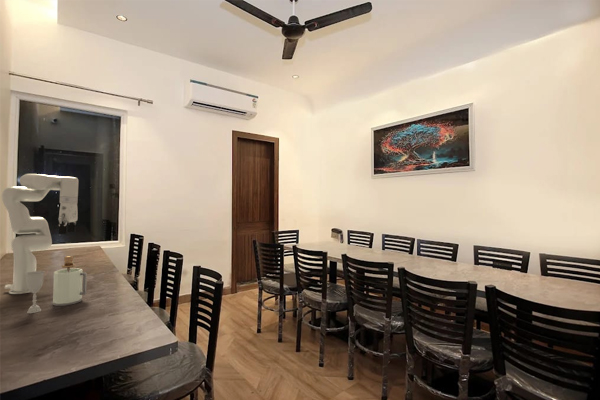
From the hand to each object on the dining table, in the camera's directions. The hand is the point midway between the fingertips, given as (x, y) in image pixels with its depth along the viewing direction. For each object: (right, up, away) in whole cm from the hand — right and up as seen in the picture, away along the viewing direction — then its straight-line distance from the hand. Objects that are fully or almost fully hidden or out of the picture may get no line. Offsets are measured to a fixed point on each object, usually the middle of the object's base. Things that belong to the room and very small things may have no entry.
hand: (67, 232), depth 157 cm
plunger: (+4, -33, -5) cm, 34 cm away
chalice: (-1, -35, -18) cm, 39 cm away
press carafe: (+4, -35, -5) cm, 35 cm away
